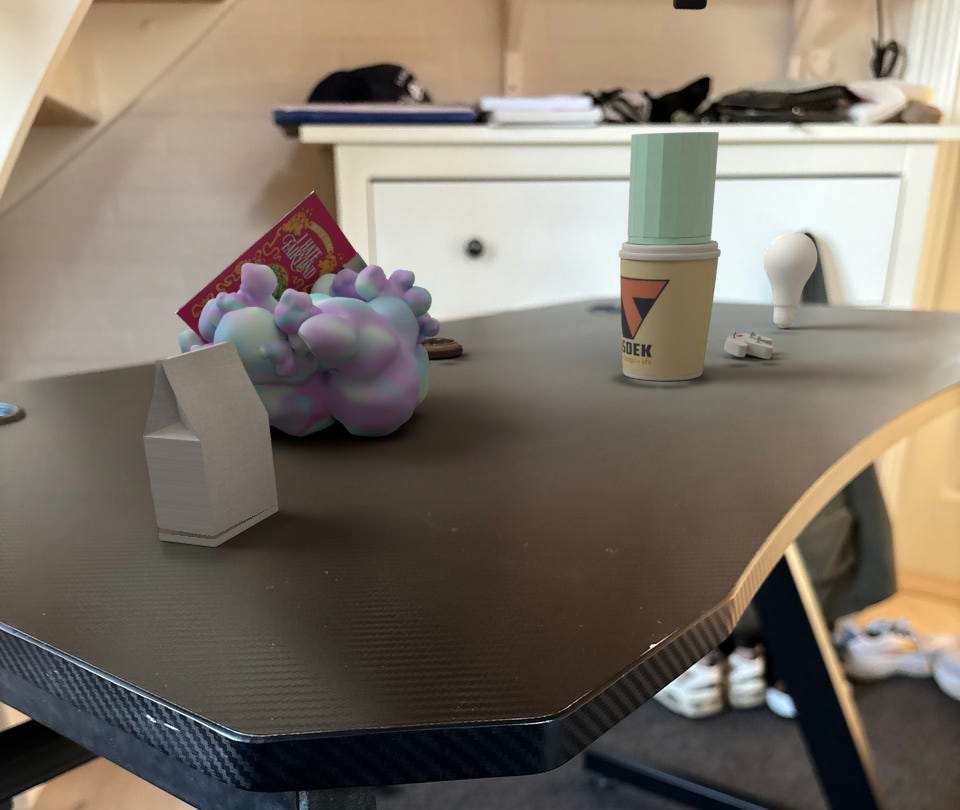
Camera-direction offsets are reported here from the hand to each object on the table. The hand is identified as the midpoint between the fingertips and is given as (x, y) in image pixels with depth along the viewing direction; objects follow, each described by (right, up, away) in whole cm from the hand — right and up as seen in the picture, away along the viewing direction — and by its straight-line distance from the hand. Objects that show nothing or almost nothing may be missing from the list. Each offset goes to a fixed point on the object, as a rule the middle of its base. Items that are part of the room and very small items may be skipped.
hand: (722, 0), depth 86 cm
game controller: (+6, -24, +23) cm, 34 cm away
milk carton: (-36, -48, -26) cm, 65 cm away
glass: (-3, -17, +8) cm, 19 cm away
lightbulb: (+17, -16, +38) cm, 44 cm away
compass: (-26, -23, +26) cm, 44 cm away
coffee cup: (-3, -29, +13) cm, 31 cm away
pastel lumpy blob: (-34, -37, -4) cm, 51 cm away
